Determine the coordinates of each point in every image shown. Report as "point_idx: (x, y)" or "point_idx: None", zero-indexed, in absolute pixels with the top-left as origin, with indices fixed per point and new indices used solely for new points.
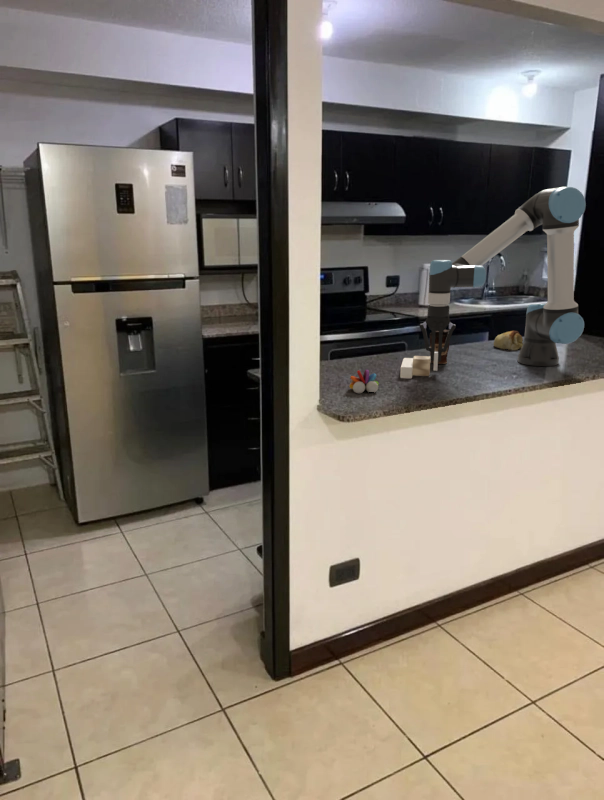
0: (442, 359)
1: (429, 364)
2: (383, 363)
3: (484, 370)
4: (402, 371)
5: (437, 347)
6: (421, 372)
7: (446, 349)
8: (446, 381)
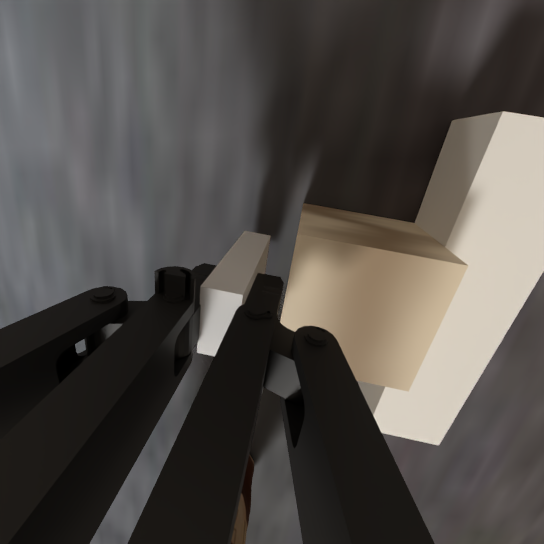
0: None
1: (302, 222)
2: (494, 477)
3: None
4: None
5: None
6: (357, 217)
7: (86, 295)
8: (201, 34)
